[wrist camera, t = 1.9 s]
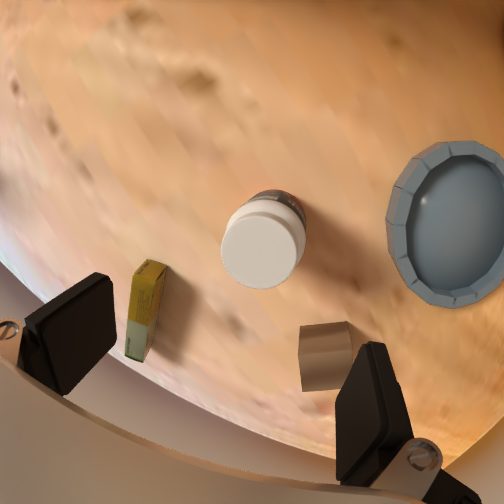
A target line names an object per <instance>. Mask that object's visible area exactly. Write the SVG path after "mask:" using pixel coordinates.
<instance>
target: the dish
mask: <svg viewBox="0 0 504 504" xmlns="http://www.w3.org/2000/svg"><path fill="white" fill-rule="evenodd" d="M385 220H386V230H387V241H388V251H389V254H390V256H391V258H392V260H393V262H394V264H395V266H396V268H397V270H398V272H399V274H400V276H401V278H402V279H403V281H404V282H405V284H406V285H407V287H408V288H409V289H411V290H412V291H413V292H414V293H415V294H417V295H418V296H419V297H420V298H422V299H423V300H424V301H425V302H426V303H428V304H430V305H435V306H440V307H445V308H450V309H452V308H453V309H454V308H458V307H462V306H465V305H469V304H473V303H476V302H478V301H479V300H481V299H482V298H483V297H485V296H486V295H488V294H489V293H490V292H492V291H493V290H494V289H495V288H497V287H498V286H499V285H500V283H501V282H502V280H503V279H504V160H503V158H502V157H501V156H500V154H499V153H497V152H495V151H494V150H492V149H490V148H488V147H486V146H484V145H482V144H480V143H478V142H476V141H454V142H439V143H435V144H433V145H432V146H430V147H429V148H427V149H425V150H424V151H422V152H421V153H419V154H418V155H416V156H414V157H413V158H412V159H411V160H410V162H409V163H408V165H407V166H406V168H405V169H404V171H403V172H402V174H401V175H400V177H399V178H398V180H397V181H396V182H395V184H394V186H393V190H392V194H391V198H390V202H389V206H388V210H387V214H386V219H385Z"/></svg>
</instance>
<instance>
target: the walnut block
mask: <svg viewBox="0 0 504 504" xmlns="http://www.w3.org/2000/svg"><path fill="white" fill-rule="evenodd" d="M298 358H299V367H300V375H301V384H302V392H309V391H323V390H334V389H341V388H342V386H343V384H344V382H345V380H346V378H347V376H348V374H349V372H350V370H351V368H352V363H353V349H352V343H351V338H350V333H349V328H348V323H347V321H345V322H336V323H327V324H317V325H306V326H300V334H299V349H298Z"/></svg>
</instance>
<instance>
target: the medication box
mask: <svg viewBox="0 0 504 504" xmlns="http://www.w3.org/2000/svg"><path fill="white" fill-rule="evenodd" d="M166 269H167V265H163V264H161V263H158V262H155V261H152V260H148V259H146V261H145V262H144V263H143V264H142V265H141V266H140V267H139V268H138V269H137V271H136V272H135V273H134V274H133V277H132V284H131V292H130V300H129V309H128V319H127V330H126V341H125V356H126V357H128V358H130V359H133V360H135V361H138V362H141V363H143V362H144V360H145V358H146V356H147V354H148V352H149V350H150V348H151V346H152V342H153V336H154V331H155V325H156V320H157V314H158V309H159V304H160V299H161V294H162V289H163V284H164V279H165V274H166Z"/></svg>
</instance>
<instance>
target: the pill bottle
mask: <svg viewBox="0 0 504 504" xmlns="http://www.w3.org/2000/svg"><path fill="white" fill-rule="evenodd" d="M305 245H306V216H305V212H304V209H303V207H302V205H301V204H300V202H299V201H298V200H297V199H296V198H295V197H294V196H292V195H291V194H289V193H287V192H285V191H282V190H266V191H263V192H260V193H258V194H256V195H255V196H254V197H252V198H251V199H250V200H249V201H247V202H246V203H245V204H244V205H242V206H241V207H240V208H239V209H238V210H237V211H236V212H235V213H234V214H233V215H232V217H231V218H230V220H229V222H228V224H227V227H226V231H225V235H224V237H223V240H222V244H221V257H222V261H223V264H224V266H225V268H226V270H227V272H228V273H229V274H230V275H231V276H232V278H233V279H235V280H236V281H237V282H239V283H240V284H242V285H244V286H247V287H249V288H254V289H268V288H272V287H275V286H277V285H280V284H281V283H283V282H284V281H285V280H286V279H287V278H288V277H289V276H290V275H291V273H292V272H293V270H294V268H295V267H296V266H297V264H298V263H299V262H300V260H301V258H302V256H303V253H304V250H305Z"/></svg>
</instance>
